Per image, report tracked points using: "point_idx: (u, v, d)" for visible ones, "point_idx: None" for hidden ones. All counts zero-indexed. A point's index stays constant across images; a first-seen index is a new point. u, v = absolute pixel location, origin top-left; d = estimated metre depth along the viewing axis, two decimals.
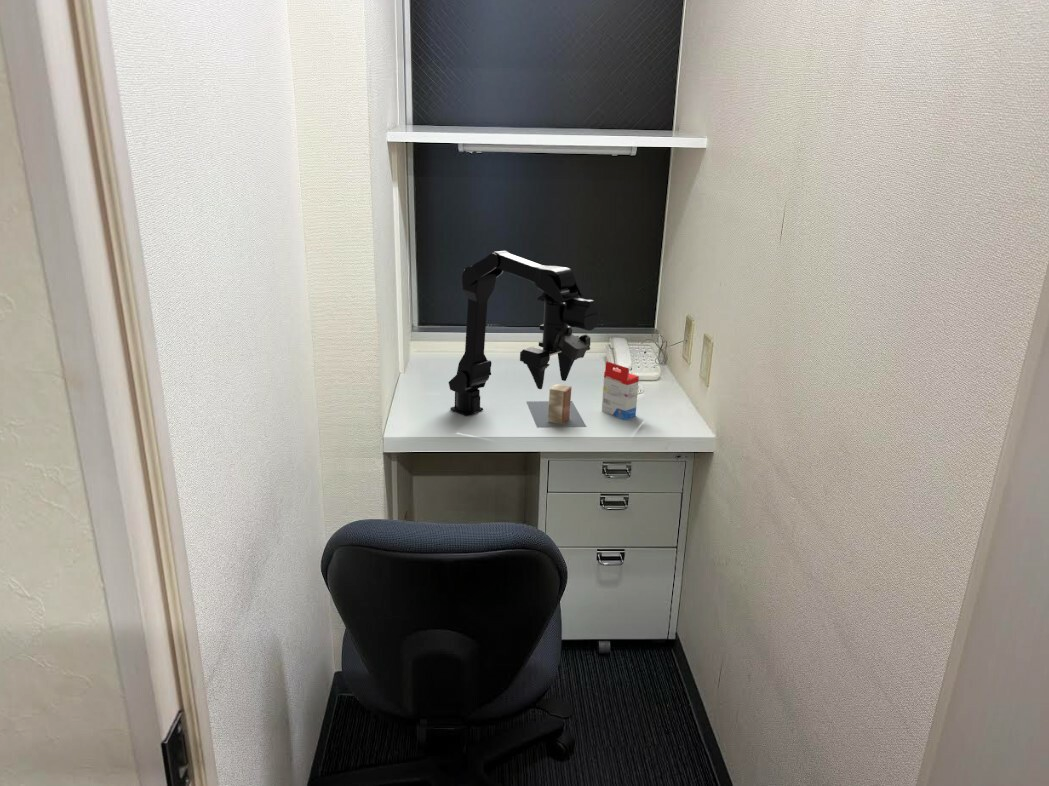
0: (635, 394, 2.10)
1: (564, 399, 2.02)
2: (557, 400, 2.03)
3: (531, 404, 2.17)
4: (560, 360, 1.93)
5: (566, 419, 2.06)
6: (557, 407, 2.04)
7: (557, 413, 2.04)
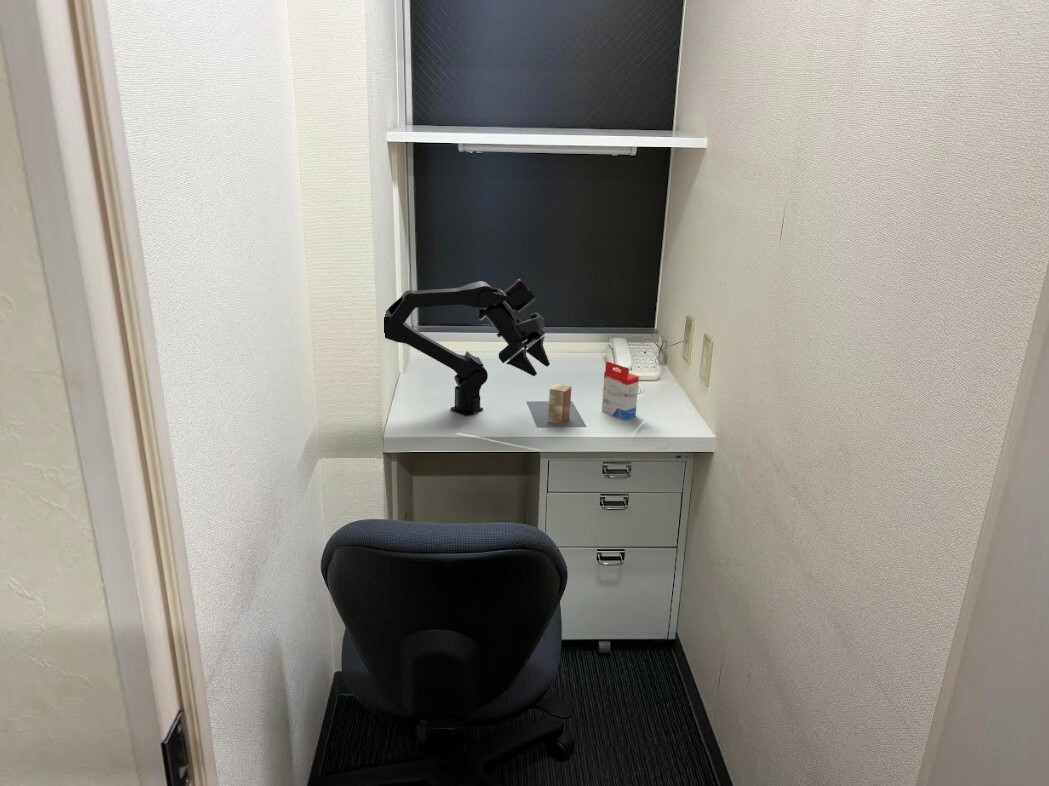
0: (635, 394, 2.10)
1: (564, 399, 2.02)
2: (557, 400, 2.03)
3: (531, 404, 2.17)
4: (533, 354, 2.10)
5: (566, 419, 2.06)
6: (557, 407, 2.04)
7: (557, 413, 2.04)
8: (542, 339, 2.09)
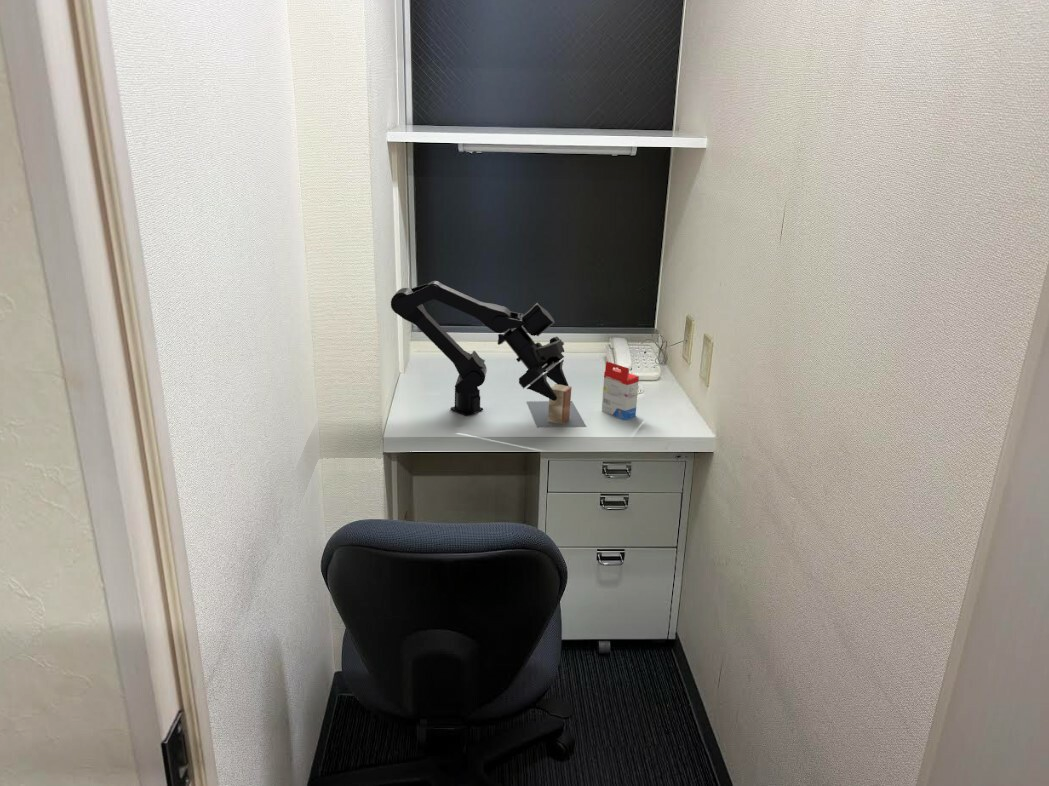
0: (635, 394, 2.10)
1: (564, 399, 2.02)
2: (557, 400, 2.03)
3: (531, 404, 2.17)
4: (553, 378, 2.10)
5: (566, 419, 2.06)
6: (557, 407, 2.04)
7: (557, 413, 2.04)
8: (561, 363, 2.09)
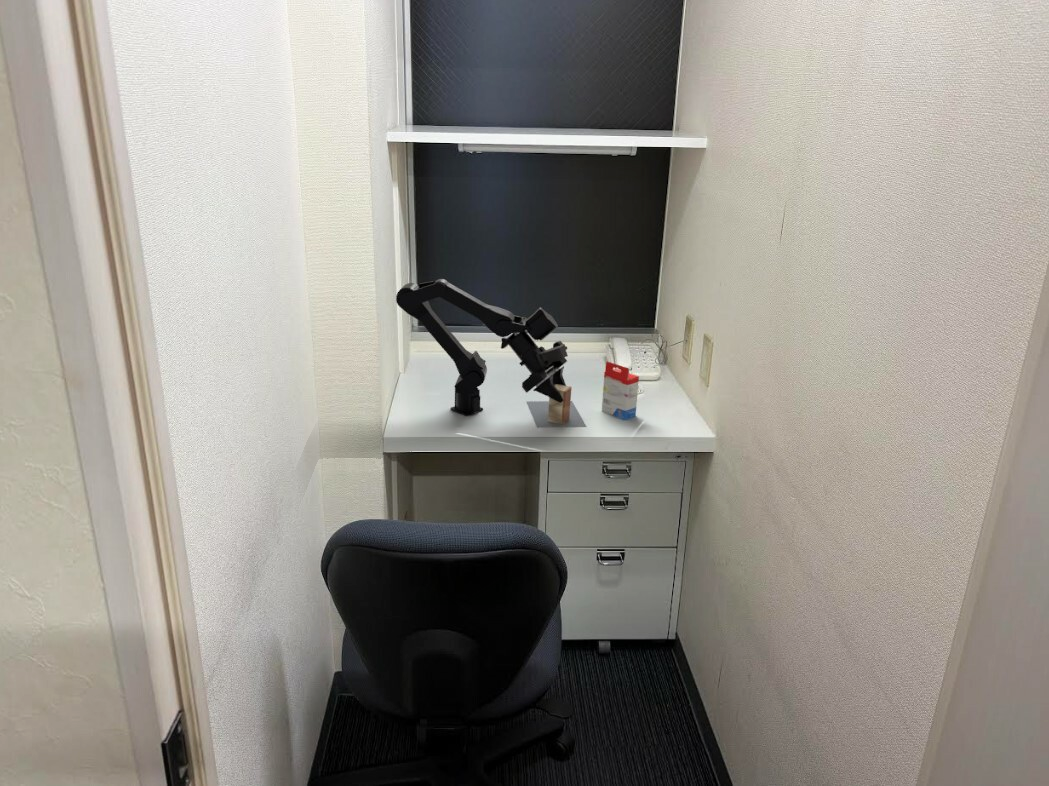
0: (635, 394, 2.10)
1: (564, 399, 2.02)
2: None
3: (531, 404, 2.17)
4: None
5: (566, 419, 2.06)
6: (557, 407, 2.04)
7: (557, 413, 2.04)
8: (562, 369, 2.07)
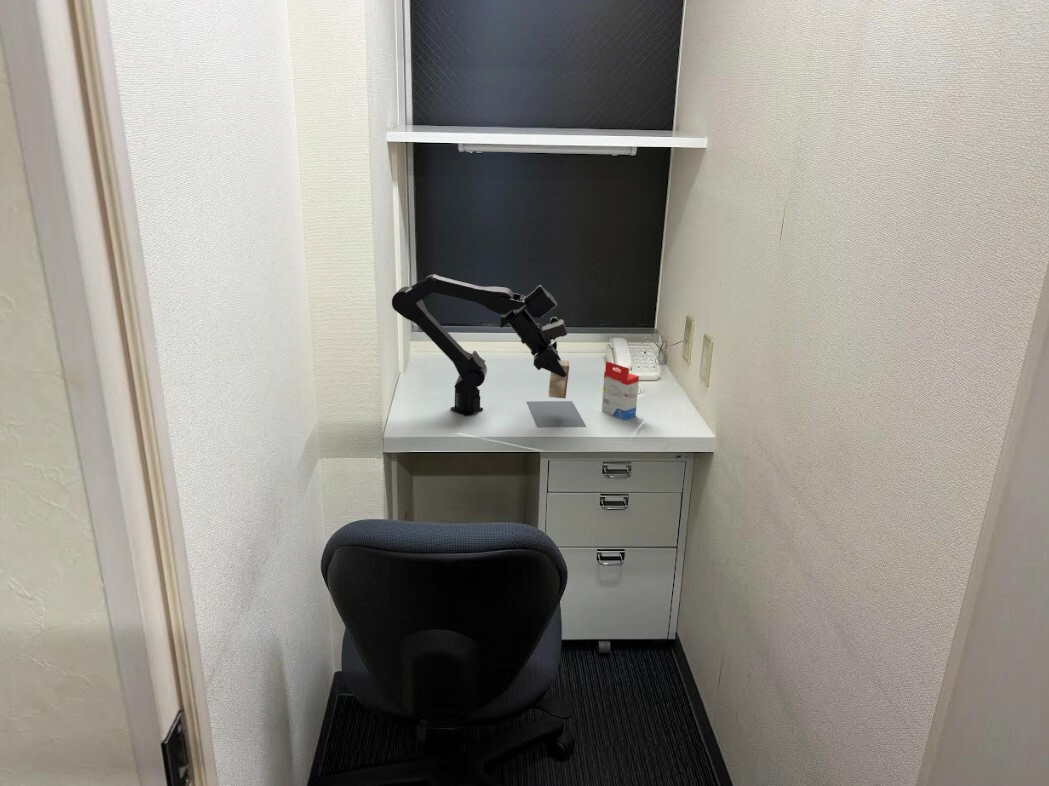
0: (635, 394, 2.10)
1: (567, 374, 2.05)
2: None
3: (531, 404, 2.17)
4: None
5: None
6: (559, 382, 2.06)
7: (559, 388, 2.07)
8: (556, 345, 2.09)
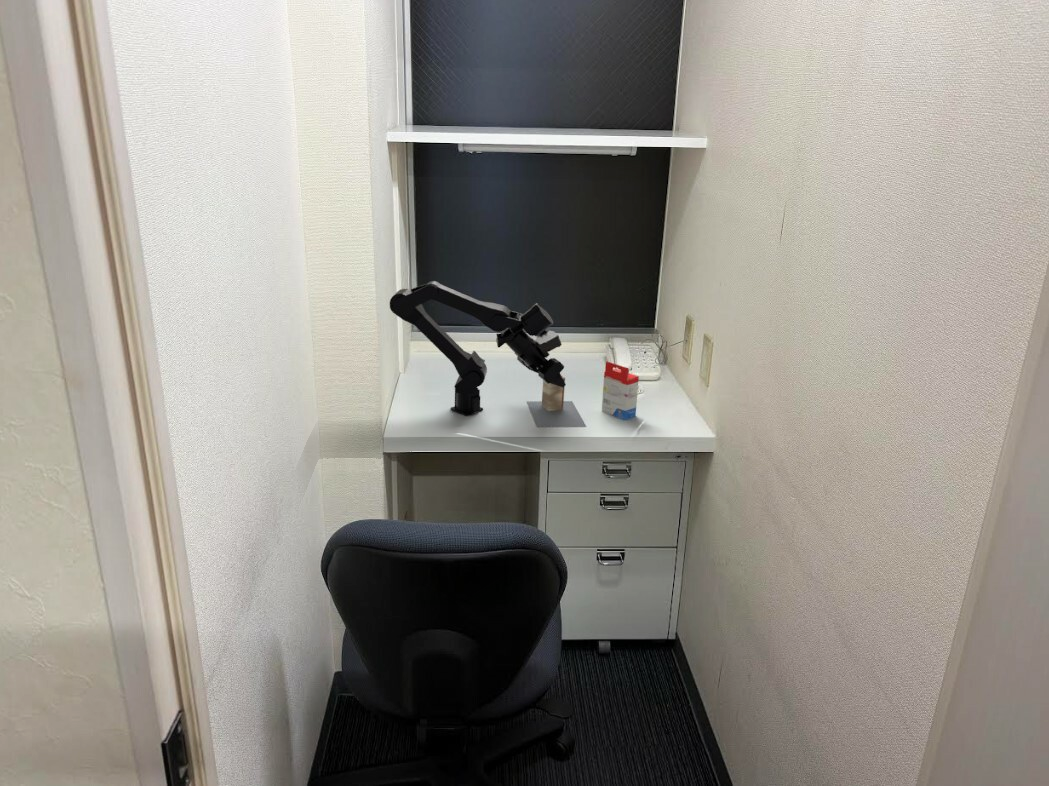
0: (635, 394, 2.10)
1: None
2: (557, 388, 2.12)
3: (531, 404, 2.17)
4: (537, 370, 2.15)
5: None
6: (557, 395, 2.13)
7: (557, 400, 2.13)
8: None
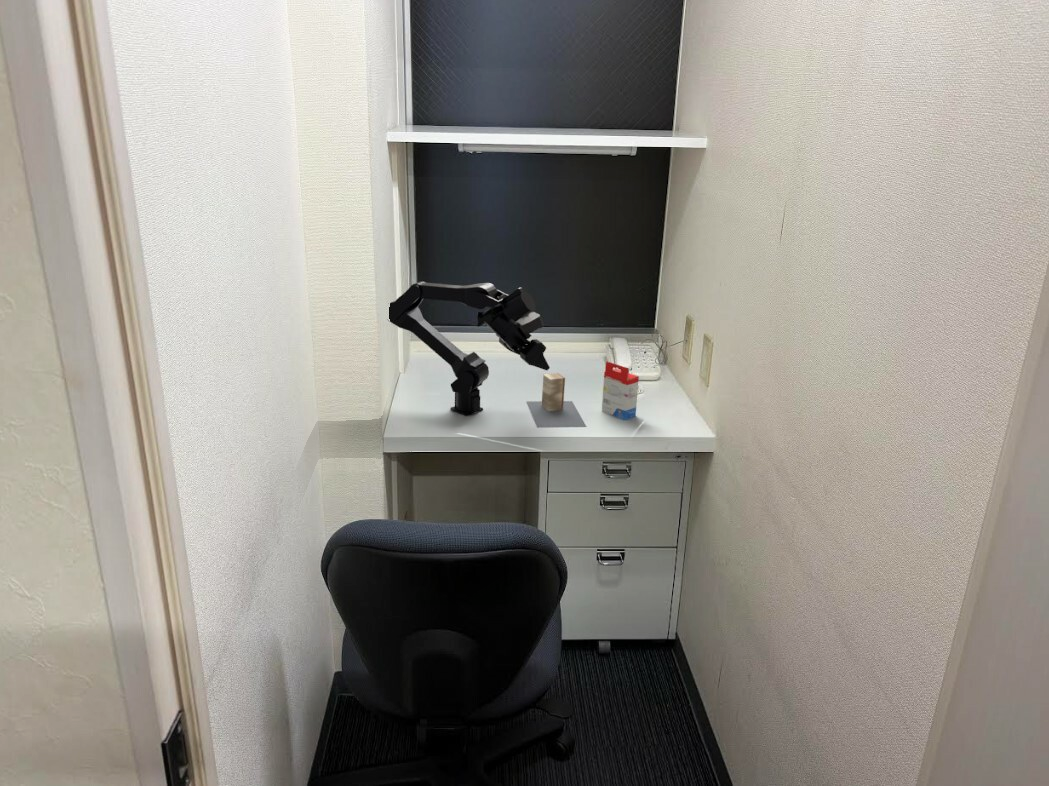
0: (635, 394, 2.10)
1: (563, 385, 2.13)
2: (557, 388, 2.12)
3: (531, 404, 2.17)
4: (518, 352, 2.12)
5: None
6: (557, 395, 2.13)
7: (557, 400, 2.13)
8: None
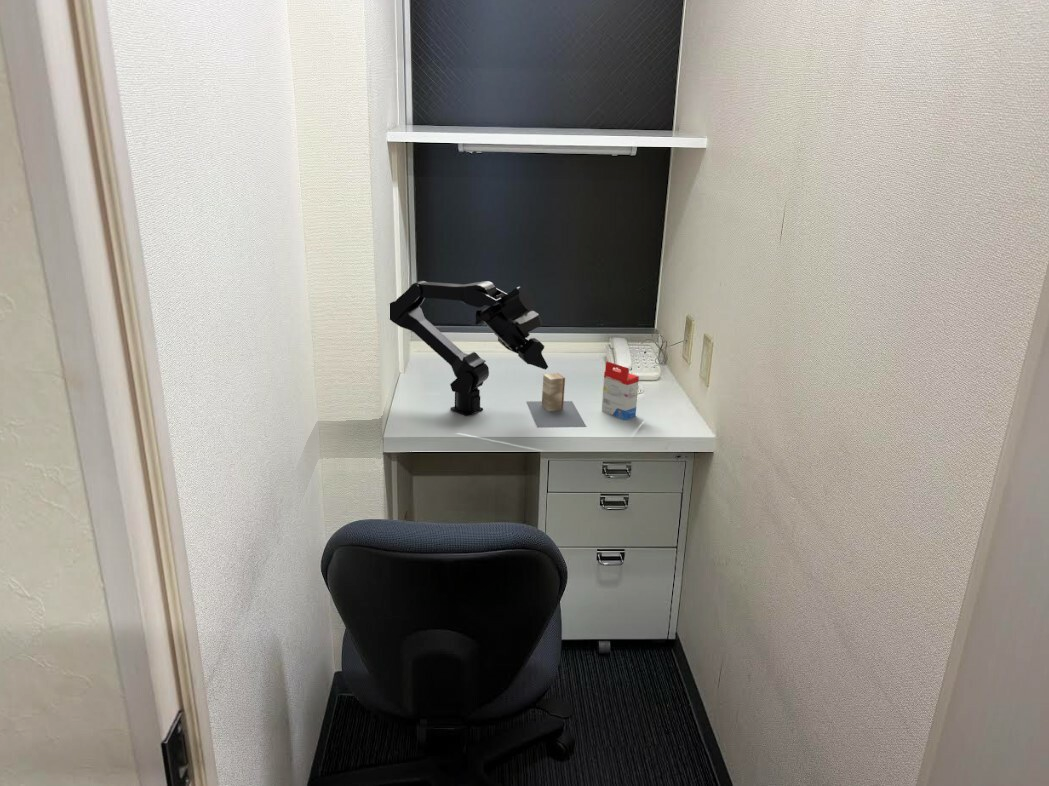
0: (635, 394, 2.10)
1: (563, 385, 2.13)
2: (557, 388, 2.12)
3: (531, 404, 2.17)
4: (517, 351, 2.11)
5: None
6: (557, 395, 2.13)
7: (557, 400, 2.13)
8: None
